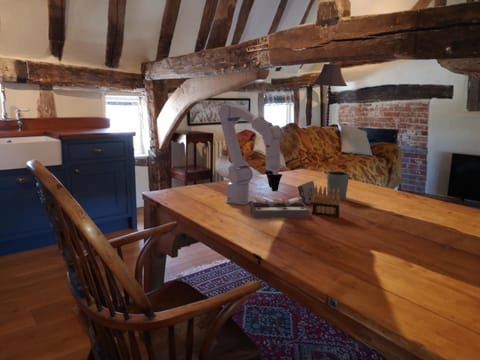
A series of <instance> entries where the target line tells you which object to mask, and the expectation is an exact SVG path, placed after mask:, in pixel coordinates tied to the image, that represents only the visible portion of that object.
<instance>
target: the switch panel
mask: <svg viewBox="0 0 480 360" xmlns="http://www.w3.org/2000/svg"><path fill="white" fill-rule="evenodd" d="M268 202H269V203H268V204H264V203H263V204H261V203H260V202H256V201H253V202H252V201H250V210H251V214H252V217H253V219H294V218H295V219H296V218H297V219H298V218H299V219H301V218H302V219H303V218H310V209H309V208H308V207H307V206H306V204H305V203H303V202H301V201H300V202H298V203H293V204H290V203H289V201H285V202H286V203H285V204H282V203H279V204H278V202H274V201H268Z"/></svg>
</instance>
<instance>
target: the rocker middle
mask: <svg viewBox="0 0 480 360" xmlns="http://www.w3.org/2000/svg"><path fill="white" fill-rule="evenodd" d="M271 200H272V202H278V204H279V203H282V204H285V203H286V202H287V201H286V200H285V199H283V198H278V197H275V196H271Z"/></svg>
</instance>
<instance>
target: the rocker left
mask: <svg viewBox="0 0 480 360" xmlns="http://www.w3.org/2000/svg"><path fill="white" fill-rule="evenodd" d="M254 202H260V203H261V204H263V203H264V204H268V203H269V202H270V201H269V199H265V198H261V197H258V196H255V197H254Z"/></svg>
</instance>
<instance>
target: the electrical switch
mask: <svg viewBox="0 0 480 360" xmlns="http://www.w3.org/2000/svg"><path fill="white" fill-rule="evenodd" d="M315 187H316V185H315V182H314V180H309V181H307V182H304V183H302V184H299V185H298V186H297V189H298V194H299V195H298V196H299V197H301V198H302V200H303V201H300V202H303V203H304V204H305V205H309V204H313V198H314V191H315Z"/></svg>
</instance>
